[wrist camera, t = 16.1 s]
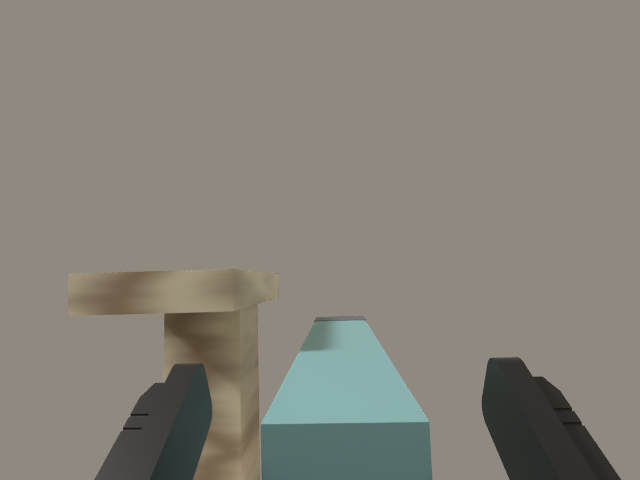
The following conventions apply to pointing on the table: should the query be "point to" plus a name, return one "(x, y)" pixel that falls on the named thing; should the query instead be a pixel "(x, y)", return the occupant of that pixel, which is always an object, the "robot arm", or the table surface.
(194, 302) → the beige wooden column stand
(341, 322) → the teal bar
